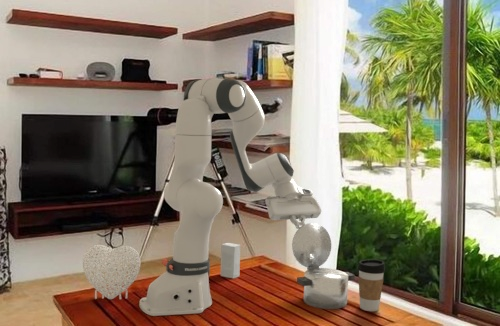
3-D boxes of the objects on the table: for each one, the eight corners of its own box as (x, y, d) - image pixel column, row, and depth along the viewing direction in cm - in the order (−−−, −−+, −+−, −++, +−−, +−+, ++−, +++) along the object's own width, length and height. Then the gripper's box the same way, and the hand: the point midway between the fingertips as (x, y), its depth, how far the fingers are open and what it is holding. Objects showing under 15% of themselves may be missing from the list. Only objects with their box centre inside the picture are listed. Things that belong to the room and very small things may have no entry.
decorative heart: (143, 294, 167) (144, 242, 166) (135, 305, 156) (136, 250, 155) (88, 292, 167) (88, 240, 165) (77, 303, 156) (77, 248, 155)
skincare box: (239, 276, 190) (240, 244, 189) (233, 279, 186) (234, 246, 185) (226, 273, 193) (227, 242, 192) (219, 275, 189) (220, 244, 188)
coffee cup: (385, 313, 157) (388, 265, 156) (358, 312, 157) (360, 264, 156) (379, 303, 165) (382, 258, 164) (353, 302, 166) (355, 257, 164)
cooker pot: (310, 312, 156) (312, 283, 155) (288, 297, 168) (289, 271, 168) (362, 304, 164) (364, 277, 163) (337, 291, 177) (339, 265, 176)
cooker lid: (292, 224, 170) (289, 224, 172) (294, 271, 169) (291, 271, 171) (330, 222, 177) (326, 222, 179) (332, 267, 175) (328, 267, 178)
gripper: (266, 191, 181) (278, 224, 173) (315, 190, 190) (329, 221, 182) (260, 202, 186) (271, 234, 177) (308, 200, 194) (321, 231, 186)
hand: (301, 227), depth 180 cm, fingers closed
